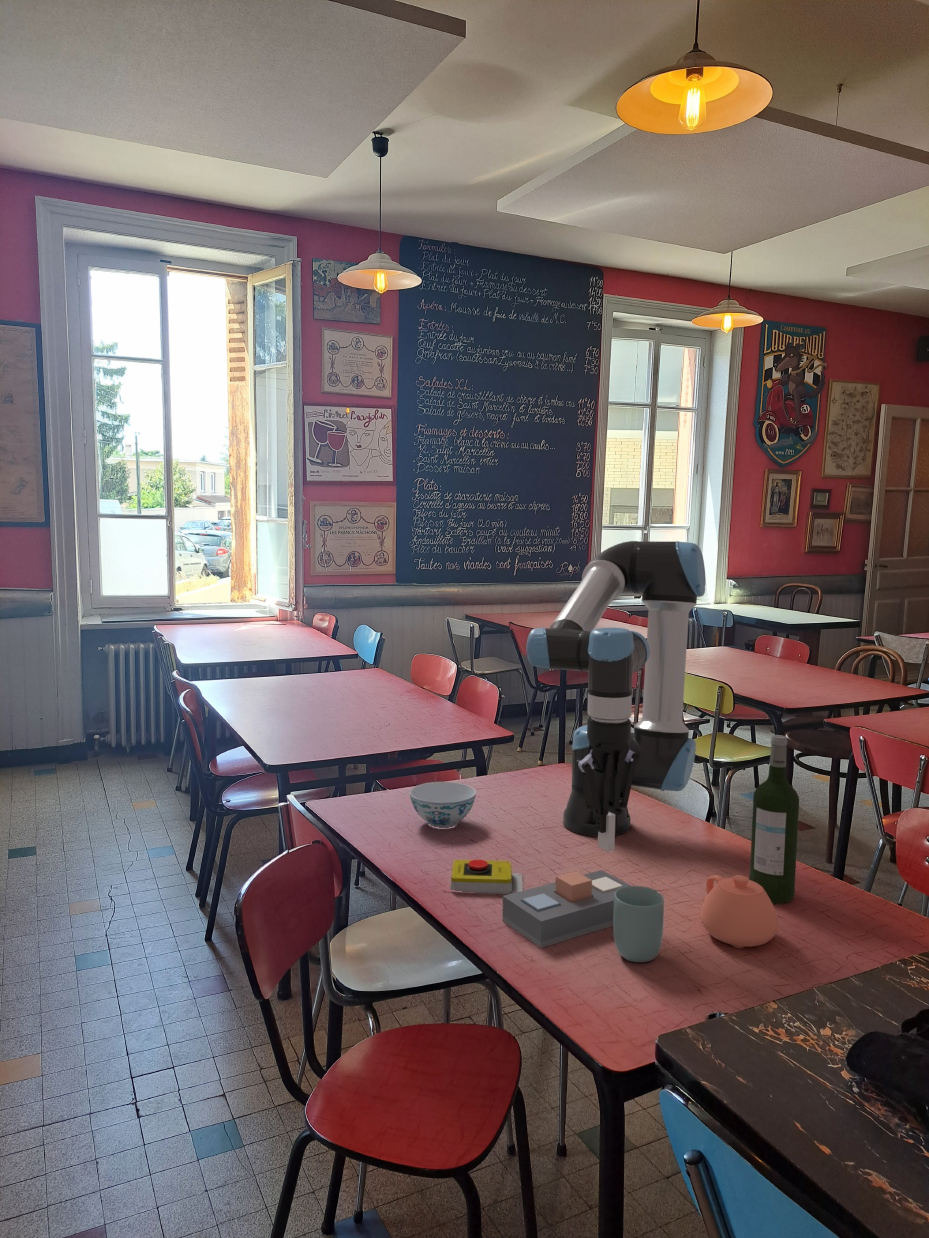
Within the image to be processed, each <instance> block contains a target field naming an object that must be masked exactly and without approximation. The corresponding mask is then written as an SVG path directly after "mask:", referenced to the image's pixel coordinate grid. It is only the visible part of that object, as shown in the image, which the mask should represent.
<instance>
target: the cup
mask: <svg viewBox="0 0 929 1238" xmlns="http://www.w3.org/2000/svg"><path fill="white" fill-rule="evenodd" d="M664 922H665V899H664V896H663V894H661V892H659V891H658V890H656V889H654V888H651V887H649V886H648V887H647V886H643V885H642V886H641V885H631V886H626V887H622V888H619V889H617V890H616V891H615V893H614V903H613V926H612V928H613V929H612V930H613V931H612V932H613V940H614V941H613V942H614V945H615V947H616V951H617V952H618V953H619V955H620V956H621V957H623V958H624V959H625V960H627V961H630V962H633V963H647V962H650V961H653V960H654V959H655V958H656V957H657V956H658V954H659V952H660V950H661V946H662V941H663V937H664V936H663V935H664V925H665V924H664Z"/></svg>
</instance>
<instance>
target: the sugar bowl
mask: <svg viewBox="0 0 929 1238" xmlns="http://www.w3.org/2000/svg"><path fill="white" fill-rule="evenodd" d="M714 881H715V882H717V883H716V884H715V885H714ZM705 885H706V886H705V888H706V894H707V895H706V897H704V899H703V901H702V903H703V904H702V906H701V910H700V920H701V924H702V925H703V927H704V928H705V930H706V931H707V932H708V933H709V934H710V935H711V936H712V937H713V938H715V939H716V940H719V941H720V942H722V943H725V944H729V945H731V946H732V947H734V948H736V949H744V948H745V947H747V948H748V947H758V946H762V945H765V944H766V943H768V942H770V941H771V940H772V939H773V938H774V937H775V936H776V934H777V933H778V931H779V921H778V915H777V911H776V909H775V906H774V903H772V902H771V900H770V898H769V897H768V895H767V893H766V892H765V890H764V889H763V887H762V886H760V885H759V884H758V883H756V882H754V881H751V880H750V878H749V877H747V876H744V875H741V874H737V875H734V876H732V877H728V878H727V877H725V878H724V877H722V876H721V875H716V874H715V875H710V876H709V877H708V878H707V879H706V884H705Z"/></svg>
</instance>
